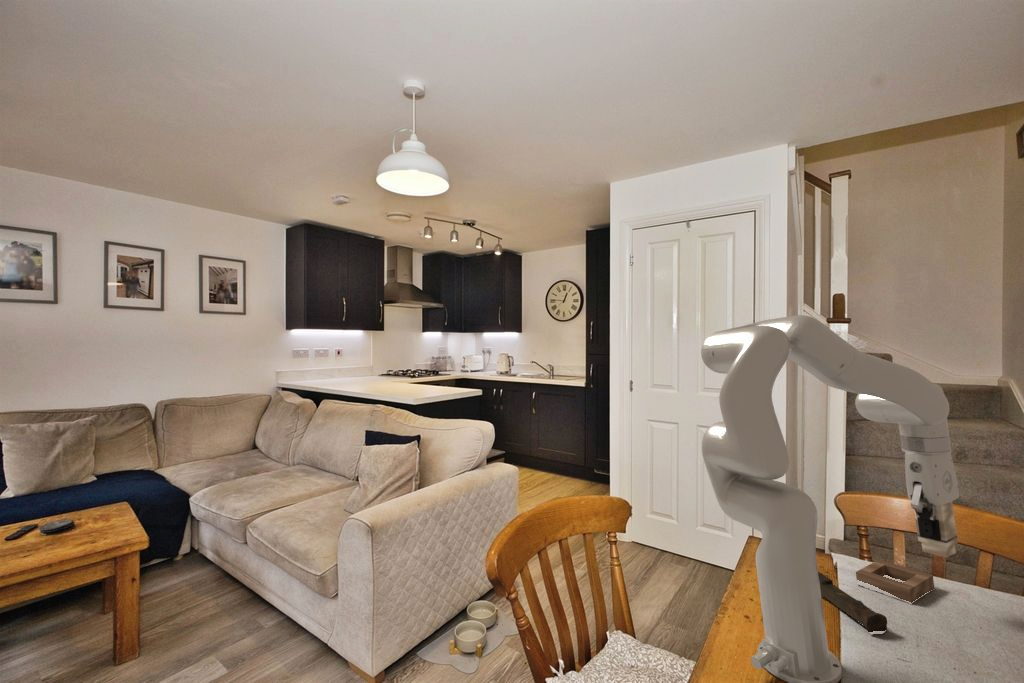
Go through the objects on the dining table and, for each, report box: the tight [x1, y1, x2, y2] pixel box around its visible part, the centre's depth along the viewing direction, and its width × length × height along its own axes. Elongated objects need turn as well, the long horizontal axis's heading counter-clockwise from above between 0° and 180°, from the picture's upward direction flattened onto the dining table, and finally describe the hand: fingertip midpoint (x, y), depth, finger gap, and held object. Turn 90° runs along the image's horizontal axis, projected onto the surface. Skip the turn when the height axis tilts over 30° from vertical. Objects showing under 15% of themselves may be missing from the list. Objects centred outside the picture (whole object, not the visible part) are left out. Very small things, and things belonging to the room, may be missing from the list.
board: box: [855, 559, 936, 603], centre depth 100 cm, size 10×10×3 cm
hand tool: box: [818, 571, 888, 633], centre depth 95 cm, size 19×4×5 cm, turn 179°
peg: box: [913, 499, 958, 558], centre depth 91 cm, size 5×5×12 cm
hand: (936, 534), depth 91 cm, fingers closed on peg, 4 cm apart
